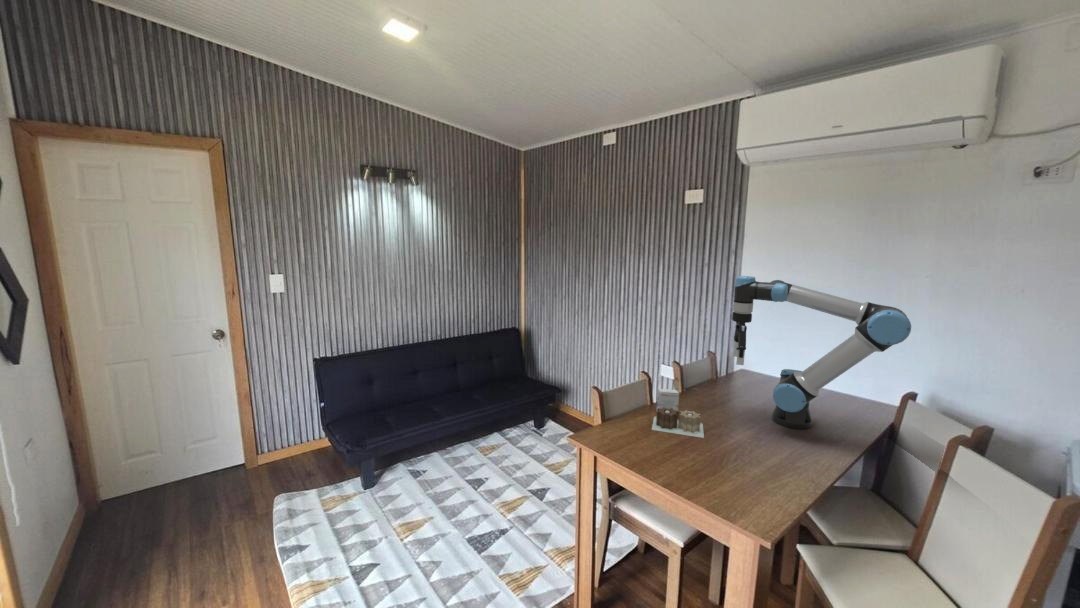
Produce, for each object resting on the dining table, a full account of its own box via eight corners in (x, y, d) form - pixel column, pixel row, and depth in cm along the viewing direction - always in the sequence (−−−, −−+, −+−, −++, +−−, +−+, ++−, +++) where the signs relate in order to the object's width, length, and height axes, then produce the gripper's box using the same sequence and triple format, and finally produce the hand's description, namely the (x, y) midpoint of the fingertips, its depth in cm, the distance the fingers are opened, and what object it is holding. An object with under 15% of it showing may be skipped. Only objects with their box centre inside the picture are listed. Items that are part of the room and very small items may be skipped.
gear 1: (677, 422, 179) (678, 409, 178) (676, 430, 171) (677, 416, 171) (657, 419, 182) (657, 406, 181) (655, 427, 174) (656, 413, 173)
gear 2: (699, 425, 176) (700, 411, 176) (700, 434, 169) (701, 419, 168) (678, 422, 179) (679, 409, 178) (678, 430, 171) (679, 416, 170)
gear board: (702, 426, 179) (703, 410, 178) (703, 440, 166) (705, 423, 165) (653, 418, 185) (654, 403, 184) (651, 432, 172) (652, 415, 171)
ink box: (657, 417, 187) (659, 392, 185) (655, 413, 192) (657, 388, 190) (677, 418, 186) (679, 393, 184) (675, 414, 191) (676, 389, 189)
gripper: (730, 307, 192) (726, 352, 196) (735, 316, 169) (731, 367, 172) (748, 308, 190) (743, 354, 193) (756, 317, 167) (751, 369, 170)
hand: (738, 360), depth 183 cm, fingers open, 13 cm apart
